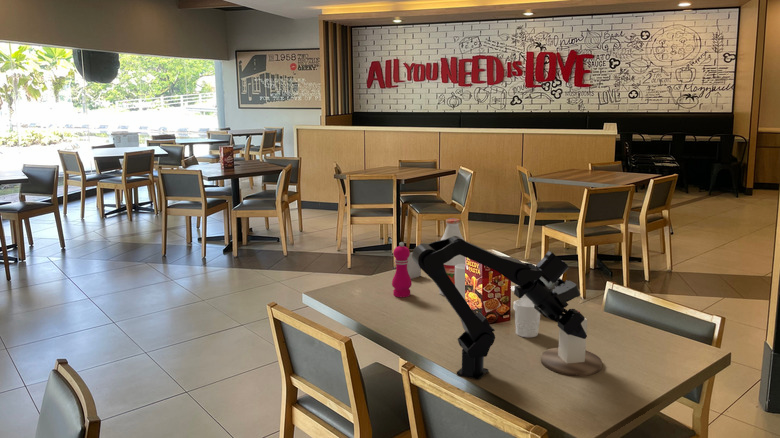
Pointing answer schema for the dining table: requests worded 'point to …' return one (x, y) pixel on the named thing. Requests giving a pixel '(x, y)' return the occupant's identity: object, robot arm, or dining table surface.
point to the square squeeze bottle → (572, 346)
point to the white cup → (526, 318)
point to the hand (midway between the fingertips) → (577, 331)
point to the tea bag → (413, 268)
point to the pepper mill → (401, 272)
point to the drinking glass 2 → (460, 278)
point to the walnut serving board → (574, 369)
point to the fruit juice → (450, 231)
